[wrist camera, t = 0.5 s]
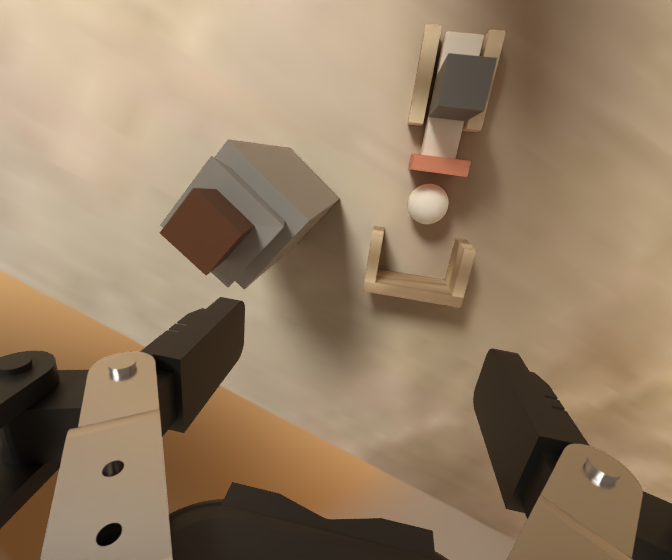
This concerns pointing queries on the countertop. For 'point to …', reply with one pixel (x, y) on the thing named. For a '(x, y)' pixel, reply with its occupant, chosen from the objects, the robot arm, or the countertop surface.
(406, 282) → the box
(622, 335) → the countertop surface
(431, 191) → the ball
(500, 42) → the rail guide
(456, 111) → the gray block
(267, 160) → the perfume bottle
